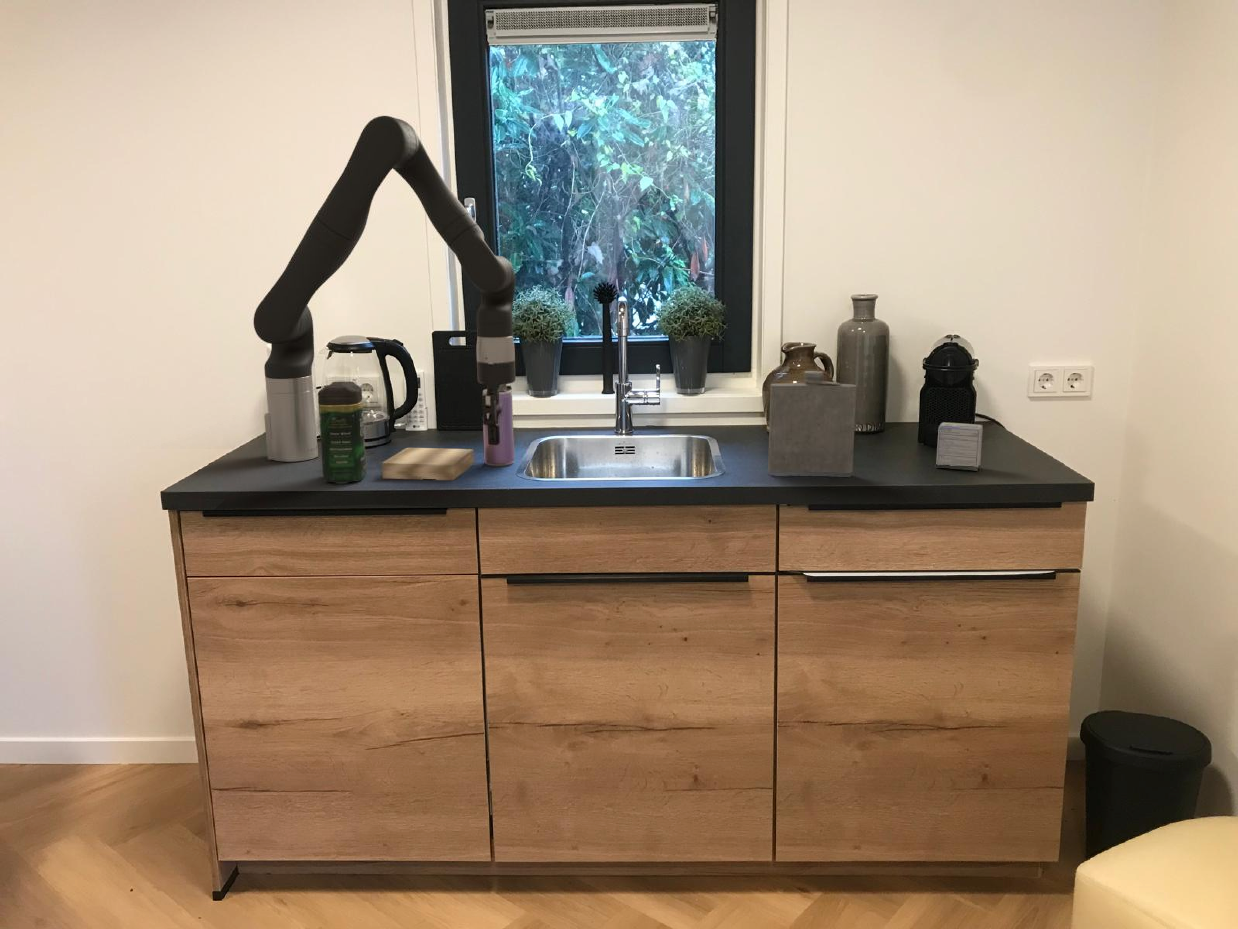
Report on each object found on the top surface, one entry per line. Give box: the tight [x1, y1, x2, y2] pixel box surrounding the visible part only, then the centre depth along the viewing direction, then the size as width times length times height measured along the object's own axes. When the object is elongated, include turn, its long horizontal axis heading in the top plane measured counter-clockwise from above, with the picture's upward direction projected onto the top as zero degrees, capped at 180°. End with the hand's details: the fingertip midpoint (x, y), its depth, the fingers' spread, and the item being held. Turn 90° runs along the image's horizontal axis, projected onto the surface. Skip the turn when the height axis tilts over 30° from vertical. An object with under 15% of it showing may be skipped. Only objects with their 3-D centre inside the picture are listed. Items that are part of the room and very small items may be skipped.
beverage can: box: [482, 388, 515, 467], centre depth 205 cm, size 6×6×15 cm
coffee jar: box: [317, 381, 367, 484], centre depth 193 cm, size 10×8×19 cm
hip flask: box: [767, 370, 857, 473], centre depth 194 cm, size 16×4×20 cm, turn 84°
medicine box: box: [935, 421, 984, 467], centre depth 199 cm, size 8×4×9 cm, turn 65°
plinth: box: [381, 447, 475, 481], centre depth 200 cm, size 14×14×3 cm
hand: (498, 440), depth 206 cm, fingers open, 6 cm apart
